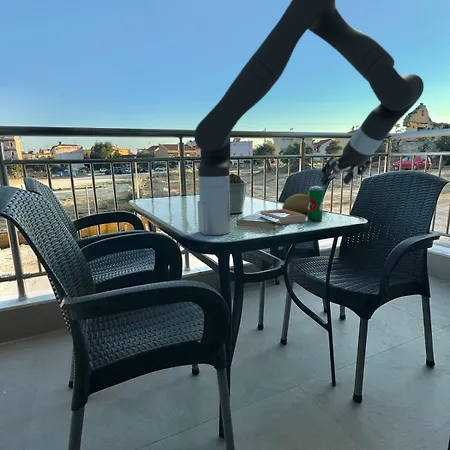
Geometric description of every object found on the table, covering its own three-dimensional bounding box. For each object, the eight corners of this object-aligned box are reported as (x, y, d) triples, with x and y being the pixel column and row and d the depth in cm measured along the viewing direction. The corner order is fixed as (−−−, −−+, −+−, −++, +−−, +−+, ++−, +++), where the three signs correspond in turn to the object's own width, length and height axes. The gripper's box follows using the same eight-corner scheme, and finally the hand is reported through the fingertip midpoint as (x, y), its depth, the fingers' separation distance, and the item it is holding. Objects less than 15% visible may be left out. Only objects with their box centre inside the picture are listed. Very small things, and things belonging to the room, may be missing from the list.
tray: (280, 224, 108) (280, 217, 108) (260, 217, 122) (260, 210, 122) (305, 222, 112) (305, 215, 111) (283, 215, 126) (283, 209, 125)
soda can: (322, 222, 111) (324, 187, 109) (307, 221, 112) (308, 187, 110) (321, 219, 116) (322, 186, 114) (307, 219, 117) (308, 186, 115)
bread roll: (322, 215, 123) (323, 195, 122) (282, 215, 125) (283, 195, 124) (318, 211, 133) (319, 192, 131) (281, 211, 135) (282, 192, 133)
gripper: (376, 135, 94) (346, 173, 107) (336, 135, 89) (310, 175, 102) (389, 153, 90) (357, 190, 103) (348, 154, 86) (320, 193, 99)
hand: (334, 183), depth 103 cm, fingers open, 8 cm apart
